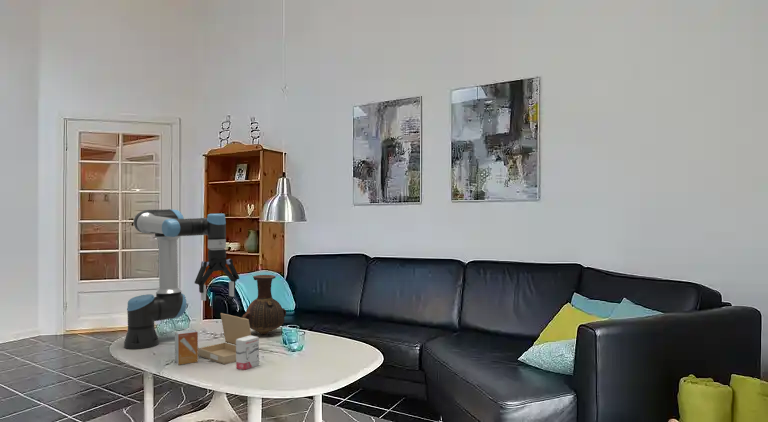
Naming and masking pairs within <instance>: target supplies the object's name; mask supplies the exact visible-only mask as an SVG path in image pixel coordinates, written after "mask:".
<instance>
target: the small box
mask: <svg viewBox="0 0 768 422" xmlns="http://www.w3.org/2000/svg"><path fill="white" fill-rule="evenodd" d="M198 335H199V333H198V331H197V330H196V329H194V328H192V329H184V330H183V329H182V330H177V331H174V362H175V363H176V364H177V365H178V366H179V365H180V366H181V365H186V364H195V363H198V361H199V360H198V359H199V356H198V348H199V344H198V343H199V342H198V341H199V340H198Z"/></svg>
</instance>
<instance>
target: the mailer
mask: <svg viewBox="0 0 768 422" xmlns="http://www.w3.org/2000/svg"><path fill="white" fill-rule="evenodd" d="M198 357H201V358H204V359H206V358H207V359H206V360H209V359H210V361H213V362H215V363H218V364H220V365H221V364H222V365H229V364H232V363H235V362H236V345H233V344H230V343H227V342H221V343H217V344H212V345H208V346H204V347H203V346H202V347H198Z"/></svg>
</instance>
